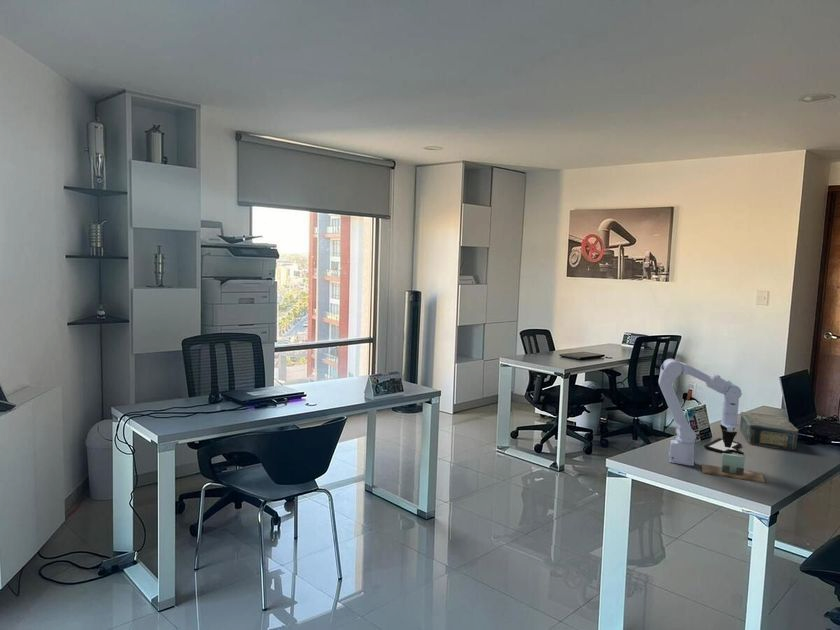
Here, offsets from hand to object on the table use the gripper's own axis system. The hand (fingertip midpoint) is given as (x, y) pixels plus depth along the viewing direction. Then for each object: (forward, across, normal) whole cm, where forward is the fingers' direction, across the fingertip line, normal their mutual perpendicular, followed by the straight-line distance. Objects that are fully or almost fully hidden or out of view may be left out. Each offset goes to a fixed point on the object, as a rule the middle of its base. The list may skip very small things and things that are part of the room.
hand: (726, 444), depth 252 cm
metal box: (+10, +62, -23) cm, 67 cm away
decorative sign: (+10, +32, -4) cm, 34 cm away
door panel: (+9, -9, -2) cm, 13 cm away
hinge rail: (+9, -9, -2) cm, 13 cm away
